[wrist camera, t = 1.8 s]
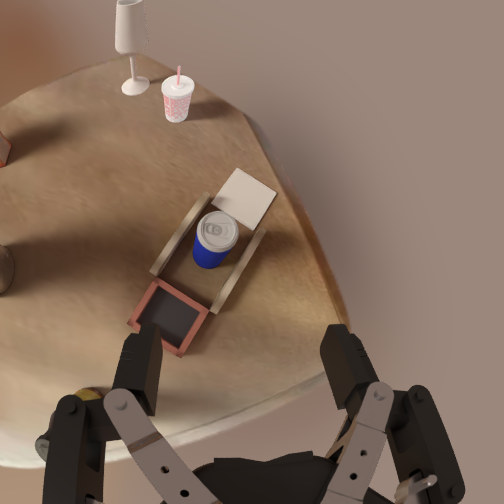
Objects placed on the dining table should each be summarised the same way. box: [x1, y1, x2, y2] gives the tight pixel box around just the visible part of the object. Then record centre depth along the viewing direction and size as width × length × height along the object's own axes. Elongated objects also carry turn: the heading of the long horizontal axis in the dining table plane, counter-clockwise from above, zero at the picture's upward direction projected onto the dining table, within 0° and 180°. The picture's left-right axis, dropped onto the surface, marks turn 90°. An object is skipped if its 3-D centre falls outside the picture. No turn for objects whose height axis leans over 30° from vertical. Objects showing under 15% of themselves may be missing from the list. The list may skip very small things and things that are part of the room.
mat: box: [211, 168, 277, 231], centre depth 51 cm, size 9×9×1 cm
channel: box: [149, 191, 266, 314], centre depth 46 cm, size 16×12×4 cm
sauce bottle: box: [35, 388, 103, 462], centre depth 27 cm, size 6×6×20 cm
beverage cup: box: [162, 65, 194, 122], centre depth 45 cm, size 6×6×14 cm
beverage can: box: [193, 211, 239, 269], centre depth 40 cm, size 5×5×15 cm
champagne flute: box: [115, 0, 150, 95], centre depth 39 cm, size 7×7×24 cm
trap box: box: [127, 276, 210, 358], centre depth 42 cm, size 9×10×2 cm
